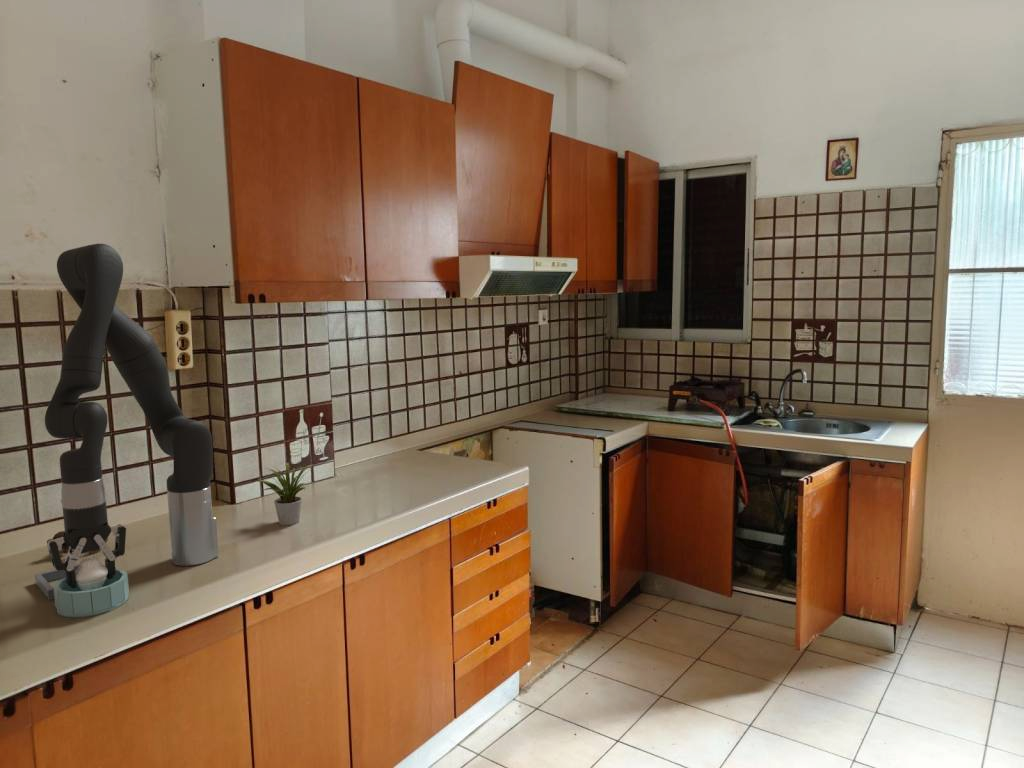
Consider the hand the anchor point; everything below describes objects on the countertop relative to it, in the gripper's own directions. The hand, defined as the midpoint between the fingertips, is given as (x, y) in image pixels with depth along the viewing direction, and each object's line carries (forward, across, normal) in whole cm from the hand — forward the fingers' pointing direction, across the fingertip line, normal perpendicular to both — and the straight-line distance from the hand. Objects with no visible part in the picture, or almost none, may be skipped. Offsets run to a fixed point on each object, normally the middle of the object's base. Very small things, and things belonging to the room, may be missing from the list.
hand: (91, 582), depth 150 cm
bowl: (+5, 0, 0) cm, 5 cm away
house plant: (+5, +54, +20) cm, 58 cm away
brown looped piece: (+5, +6, +36) cm, 37 cm away
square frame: (+5, 0, +14) cm, 15 cm away
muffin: (+2, 0, 0) cm, 2 cm away
